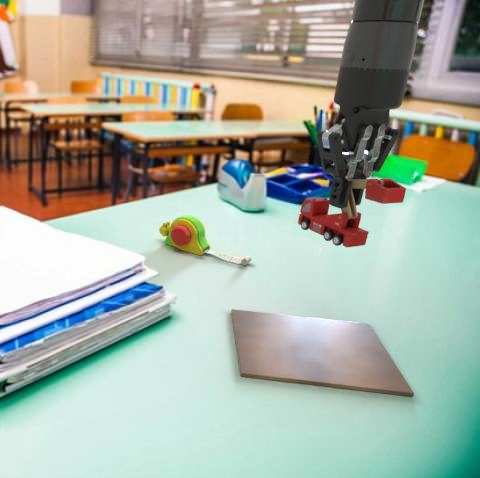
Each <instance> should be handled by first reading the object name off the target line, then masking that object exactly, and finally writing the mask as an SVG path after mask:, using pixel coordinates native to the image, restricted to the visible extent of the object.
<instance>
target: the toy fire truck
mask: <svg viewBox="0 0 480 478" xmlns="http://www.w3.org/2000/svg"><path fill="white" fill-rule="evenodd" d="M351 180H352V186H351V190H350V195H349V200H348V204H347V207H345V208H340V211H341V212H339V213H330V214H329V211H330V206H331V205H330V203H329V198H328V197H326V196H325V197H314V196H313V197H308V198H306V199H305V200H304V201H303V202H302V204H301V207H300V210H299V211H300V213H299V214H298V221H297V224H298V225H300V227H301V229H302V230H304V231H307V230H310V231H311V232H314V233H316V234H318V235H320V236H322V237H323V239H324V241H326V242H330V241H332V243H333V245H334V246H336V247H337V246H341V245H342V246H343V247H344V248H355V247H361V246H365V245H366V244H367V239H368V235H369V234H370V231H368V230H365V229H363V228H361V227H360V223H361V220H362V213H361V212H360V211H358V210H357V206H356V205H355V200H354V195H353V191H352V189H364V199H365V200H368V201H370V202H371V201H372V202H375V203H378V204H383V205H386V204H387V205H388V204H401V203H404V200H405V197H406V191H407V188H406V187H405V186H403V185H401V184H400V183H399V182H396V181H395V180H393V179H391V178H389V177H388V178H387V177H386V178H379V179H378V178H367V179H351Z"/></svg>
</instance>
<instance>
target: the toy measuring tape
mask: <svg viewBox="0 0 480 478" xmlns="http://www.w3.org/2000/svg"><path fill="white" fill-rule="evenodd" d="M159 234H160V235H161V236H163V237H165V239H164V245H168V246H170V247H173V248H176V249H178V250H181V251H184V252H188V253H189V254H195V255H198V256H202V255H205V254H209V255H212V256H214V257H216V258H218V259H220V260H222V261H224V262H227V263H233V264H235V265H241V264H242V266H246V265H248V264H249V263H251V261H252V260H253V258H252V256H250V255H246V256H244V257H242V258H240V257H238V256H235V255H231V254H226V253H223V252H218V251H216V250H211V244H210V243H209V242H208V240H207V237H206V227H205V225H204V223H203V221H202V220H201V219H200V218H198V217H196V216H195V215H192V214H184V215H181V216H179V217H177V218H175V219H173V220H172V222H170V221H169V220H167V221H166V222H163V223H162V225H160V226H159Z"/></svg>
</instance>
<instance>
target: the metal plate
mask: <svg viewBox="0 0 480 478" xmlns="http://www.w3.org/2000/svg"><path fill="white" fill-rule="evenodd" d="M230 313H231V320H232V326H233V327H232V328H233V333H234V338H235V346H236V347H235V348H236V354H237V359H238V366H239V373H240V377H243V378H251V379H252V378H253V379H262V380H270V381H277V382H288V383H295V384H303V385H304V384H305V385H313V386H321V387H328V388H329V387H330V388H337V389H346V390H355V391H361V392H362V391H363V392H370V393H379V394H389V395H397V396H405V397H414V395H415V392H414V390H413V388H411V386H410V385H409V383H408V382H407V380H406V378H405V377H404V375H403V374H402V372H401V371H400V370H399V368H398V366H397V364H396V363H395V361H394V360H393V358H392V357H391V355H390V354H389V352H388V350H387V349H386V348H385V346H384V345H383V343H382V341H381V340H380V338H379V337H378V335H377V334H376V332H375V330H374V329H373V327H372V326H371V324H370V323H368V322H358V321H349V320H340V319H329V318H321V317H320V318H319V317H310V316H301V315H300V316H299V315H291V314H282V313H280V314H279V313H271V312H261V311H253V310H241V309H233V308H231V310H230Z"/></svg>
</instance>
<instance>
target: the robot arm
mask: <svg viewBox="0 0 480 478" xmlns="http://www.w3.org/2000/svg"><path fill="white" fill-rule="evenodd" d="M424 3H425V0H354V4H353V9H352V15H351V19H350V25H349V27H348V31H347V35H346V37H345V40H344V44H343V49H342V54H341V59H340V60H341V61H340V64H339V69H338V74H337V80H336V85H335V91H334V94H333V95H334V96H333V102H334V103H335V105H338V106H339V109H338V113H337V115H336V117H335V119H334V123H333V126H331V127H330V128H329V129H327V130H326V129H325V130H324V129H319V130H318V131H317V132H316V141H317V147H318V151H319V152H318V153H319V159H320V163H321V169H322V172H323V173H325V174H328V175H331V177H332V182H331V187H330V193H329V197H328V200H329V203H330V205H329V206H332V207H334V208H337V209H341V208H345V207H347V204H348V200H349V195H350V190H351V186H352V180H351V179H370V178H371V176H372V175H373V172H375V173H379V172H380V171H381V170H382V168H383V166H384V164H385V162H386V160H387V158H388V156H389V155H390V153H391V151H392V150H393V147H395V144H396V142H397V141H398V138H399V137H400V134H401V130H400V128H396V127H392V126H391V125H390V121H391V119H390V117H391V116H390V112H391V110H397V109H399V108H401V106H402V104H403V101H404V97H405V92H406V89H407V84H408V80H409V76H410V72H411V69H412V68H411V67H412V63H413V59H414V56H415V51H416V46H417V39H418V30H419V23H420V20H421V16H422V12H423V7H424ZM345 151H346V152H345ZM345 161H347V164H346V162H345ZM352 191H353V195H354V200H355V205H356V207H357V206H360V205H361V204H362V200H363V197H364V193H365V189H352Z"/></svg>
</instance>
